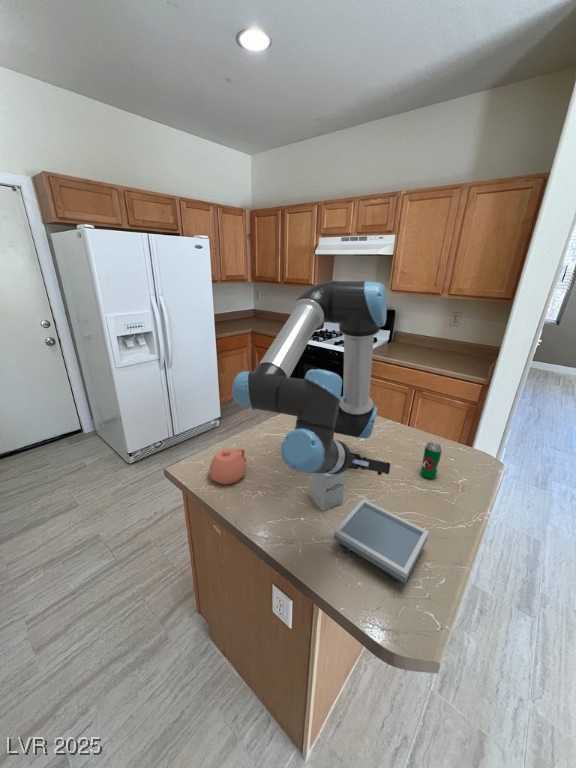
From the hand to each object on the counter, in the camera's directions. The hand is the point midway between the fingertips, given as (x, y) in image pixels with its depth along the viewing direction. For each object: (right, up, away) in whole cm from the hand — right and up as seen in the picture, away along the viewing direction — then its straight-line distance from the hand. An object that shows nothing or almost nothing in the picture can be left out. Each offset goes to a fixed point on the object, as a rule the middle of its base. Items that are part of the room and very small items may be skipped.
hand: (357, 461), depth 85 cm
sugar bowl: (-39, -10, +22) cm, 46 cm away
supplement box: (-7, -15, +11) cm, 20 cm away
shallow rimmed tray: (+4, -21, -6) cm, 22 cm away
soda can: (+29, -11, +23) cm, 38 cm away
